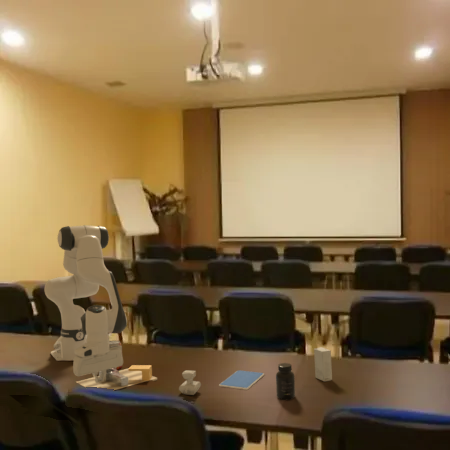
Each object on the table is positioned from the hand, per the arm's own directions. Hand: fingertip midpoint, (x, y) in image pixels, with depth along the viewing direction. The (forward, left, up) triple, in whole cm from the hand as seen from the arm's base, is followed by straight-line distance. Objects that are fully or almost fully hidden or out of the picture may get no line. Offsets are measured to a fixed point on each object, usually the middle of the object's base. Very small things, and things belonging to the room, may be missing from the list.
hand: (99, 381), depth 215 cm
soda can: (-18, +16, -3) cm, 25 cm away
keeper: (+3, +17, -3) cm, 17 cm away
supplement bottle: (+58, +45, -3) cm, 74 cm away
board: (-2, +9, -3) cm, 9 cm away
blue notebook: (+33, +46, -3) cm, 57 cm away
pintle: (-6, +7, -3) cm, 10 cm away
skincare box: (+55, +70, -3) cm, 89 cm away
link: (-1, +8, -2) cm, 8 cm away
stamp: (+30, +22, -3) cm, 37 cm away
